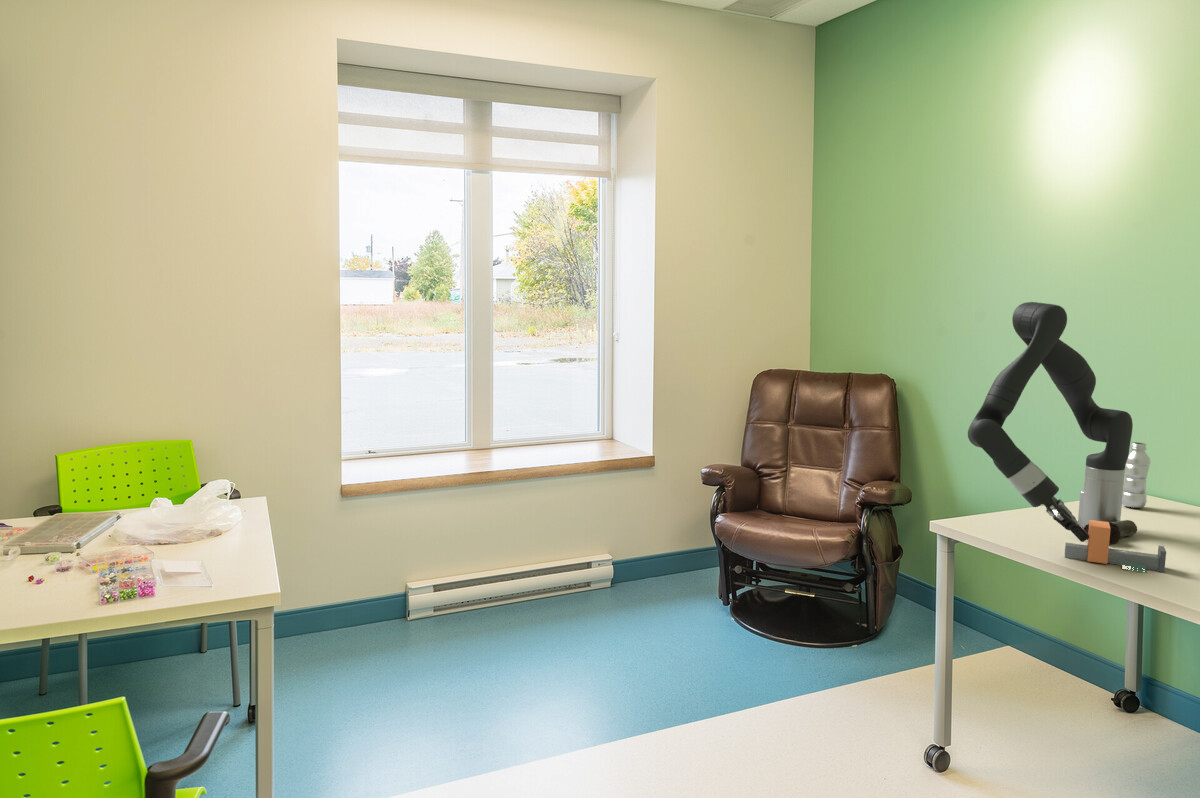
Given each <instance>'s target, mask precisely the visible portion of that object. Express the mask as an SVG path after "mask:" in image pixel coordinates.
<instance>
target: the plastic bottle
mask: <svg viewBox="0 0 1200 798" xmlns="http://www.w3.org/2000/svg"><path fill="white" fill-rule="evenodd" d="M1130 449H1131V450H1130V451H1129V456H1128V459H1127V462H1126V465H1125V475H1124V487H1123V498H1122V506H1124V507H1127V508H1130V507H1131V509H1142V508H1144V507H1145V506H1146V504H1147V501H1148V500H1147V494H1146V493H1147V492H1146V491H1147V489H1146V488H1147V479H1148V473H1149V469H1150V465H1151V458H1150V457H1149V455H1148V454H1147V452H1146V450H1147V443H1145V442H1139V441H1131V444H1130Z"/></svg>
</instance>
